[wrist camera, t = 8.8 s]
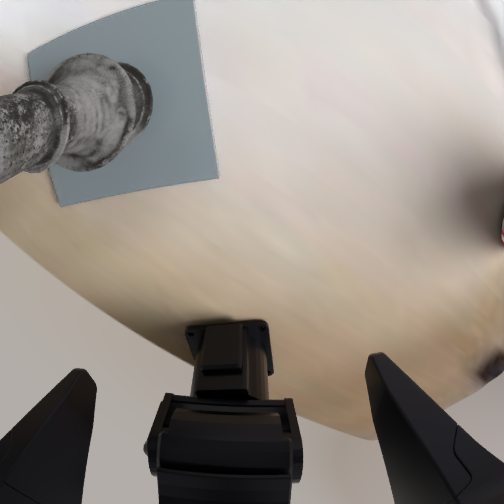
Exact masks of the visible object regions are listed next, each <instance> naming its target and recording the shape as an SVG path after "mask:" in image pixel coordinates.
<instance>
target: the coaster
mask: <svg viewBox="0 0 504 504" xmlns="http://www.w3.org/2000/svg"><path fill="white" fill-rule="evenodd" d="M85 53H93V54H101V55H104V56H106V57H108V58H110V59H112V60H114V61H116V62H122V63H127V64H130V65H132V66H133V67H135V68H137V69H138V70H139V71H140V72H141V73H142V74H143V75H144V76H145V77H146V79H147V81H148V83H149V85H150V86H151V91H152V95H153V110H152V114H151V117H150V121H149V123H148V125H147V126H146V128H145V130H144V132H143V133H142V134H141V135H140V136H139V137H138V138H137V139H136V140H135V141H134V142H132V143H130V144H129V145H127V146H126V147H124V149H123V150H122V151H121V152H120V153H119V154H118V155H117V156H116V158H115V159H113V160H112V161H110V162H109V163H107V164H106V165H104V166H103V167H101V168H98V169H95V170H92V171H83V172H76V171H72V170H69V169H65V168H63V167H61V166H60V165H58V164H57V163H55V164H53V165H52V166H51V167H50V168H49V171H50V174H51V178H52V181H53V185H54V188H55V191H56V195H57V198H58V201H59V204H60V207H64V206H68V205H72V204H77V203H81V202H86V201H90V200H95V199H100V198H105V197H110V196H115V195H120V194H125V193H130V192H136V191H141V190H147V189H152V188H158V187H164V186H170V185H177V184H183V183H190V182H196V181H203V180H211V179H218V178H219V177H220V173H219V167H218V160H217V154H216V148H215V141H214V135H213V128H212V122H211V115H210V108H209V101H208V95H207V88H206V81H205V74H204V67H203V60H202V53H201V45H200V38H199V31H198V23H197V15H196V8H195V0H159V1H155V2H152V3H148V4H145V5H141V6H138V7H135V8H131V9H128V10H125V11H122V12H119V13H116V14H114V15H111V16H108V17H105V18H103V19H100V20H97V21H95V22H92V23H90V24H88V25H85V26H83V27H80V28H78V29H76V30H74V31H71V32H69V33H67V34H65V35H63V36H61V37H59V38H57V39H55V40H53V41H51V42H49V43H47V44H45V45H43V46H41V47H39V48H37V49H35V50H34V51H32V52H30V53H28V64H29V72H30V80H31V81H33V80H44V81H45V79H46V78H47V76H48V75H49V74H50V72H51V71H52V70H53V69H54V68H55V67H57V66H58V65H59V64H60V63H61V62H63V61H64V60H66V59H68V58H70V57H72V56H75V55H79V54H85Z"/></svg>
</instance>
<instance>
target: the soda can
mask: <svg viewBox="0 0 504 504" xmlns="http://www.w3.org/2000/svg"><path fill="white" fill-rule="evenodd" d="M502 242H503V245H504V219H503V224H502Z"/></svg>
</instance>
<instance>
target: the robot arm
mask: <svg viewBox="0 0 504 504" xmlns="http://www.w3.org/2000/svg"><path fill="white" fill-rule="evenodd" d="M260 327H264V328H260ZM190 332H193V333H190ZM185 336H186V339H187V341H188V344H189V347H190V350H191V352H192V355H193V357H194V360H195V367H194V373H193V380H192V386H191V394H190V396H180V395H174V394H172V393H165V396H164V399H163V401H161V403H160V406H159V408H158V411H157V414H156V417H155V420H154V422H153V425H152V428H151V431H150V433H149V436H148V439H147V441H146V442H145V444H144V452H145V454H146V455H147V456H148V462H149V468H150V472H151V474H152V475H153V476H156V477H157V480H158V494H159V504H290V499H291V487H292V483H299V482H300V480H301V476H302V470H303V447H302V439H301V434H300V430H299V426H298V421H297V417H296V412H295V408H294V404H293V399H292V398H284V400H269V392H268V376H270V375H272V374H273V373H274V370H273V360H272V352H271V343H270V334H269V326H268V323H267V322H265V321H255V322H243V323H231V324H217V325H202V326H189V327H187V328H186V330H185ZM365 378H366V384H367V389H368V395H369V401H370V406H371V413H372V418H373V423H374V426H375V430H376V433H377V437H378V440H379V444H380V448H381V451H382V455H383V459H384V462H385V466H386V470H387V474H388V477H389V482H390V485H391V490H392V494H393V498H394V502H395V504H504V463H503V462H502V461H501V460H499V459H498V458H496V457H495V456H494V455H493V454H491V453H490V452H489V451H487V450H486V449H485V448H484V447H482V446H481V445H480V444H479V443H478V442H476V441H475V440H474V439H473V438H472V437H471V436H470V435H469V434H468V433H467V432H466V431H464V429H463V428H461V427H460V426H459V425H457V423H456V422H455V421H454V420H453V419H452V418H451V417H450V416H449V415H448V414H447V413H446V412H445V411H444V410H443V409H442V408H441V407H440V406H439V405H438V404H437V403H436V402H435V401H434V400H433V399H432V398H430V397H429V396H428V395H427V394H426V393H425V392H424V391H423V390H422V389H421V388H420V387H419V386H418V385H417V384H416V383H415V382H414V381H413V380H412V379H411V378H410V377H409V376H408V375H407V374H405V373H404V372H403V371H402V370H401V369H400V368H399V367H398V366H397V365H396V364H395V363H394V362H393V361H392V360H391V359H390V358H389V357H388V356H387V355H385V354H384V353H383V352H378V353H373V354H370V355H369V357H368V361H367V365H366V370H365ZM96 393H97V387H96V383H95V382H94V380H93V379H92V377H91V376H90V375H89V373H88V372H87V371H86V370H85V369H80V368H76V369H73V370H72V371H71V372H70V373H69V374H68V375H67V376H66V377H65V378H64V379H63V380H61V381H60V383H58V384H57V385H56V386H55V387H54V388H53V389H52V390H51V391H50V392H49V393H48V394H47V395H46V396H45V397H44V398H43V399H42V400H41V401H40V402H39V403H38V404H37V405H36V406H34V407H33V408H32V409H31V410H30V411H29V412H28V413H27V414H26V415H25V416H24V417H23V418H22V419H21V420H20V421H19V422H18V423H17V424H16V425H15V426H14V427H13V428H12V430H10V431H9V432H8V433H7V434H6V435H5V436H4V437H3V438H2V439H1V440H0V504H81V503H82V494H83V486H84V478H85V471H86V465H87V458H88V452H89V446H90V441H91V435H92V429H93V422H94V410H95V402H96Z"/></svg>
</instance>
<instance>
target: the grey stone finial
mask: <svg viewBox="0 0 504 504" xmlns="http://www.w3.org/2000/svg"><path fill="white" fill-rule="evenodd" d="M152 110H153V95H152V91H151V86H150V85H149V83H148V81H147V79H146V77H145V76H144V75H143V74H142V73H141V72H140V71H139V70H138V69H137V68H135V67H133V66H132V65H130V64H127V63H122V62H116V61H114V60H112V59H110V58H108V57H106V56H104V55H101V54H93V53H85V54H79V55H75V56H72V57H70V58H68V59H66V60H64V61H63V62H61V63H60V64H59V65H58V66H57V67H55V68H54V69H53V70H52V71H51V72H50V74H49V75H48V76H47V78H46V79H45V81H44V80H33V81H29V82H26V83H24V84H23V85H21V86H19V87H18V88H17V89H16V90H15V91H14V92H13V93H12V94H9V95H4V96H0V184H1V183H3V182H4V181H6V180H8V179H9V178H11V177H13V176H15V175H17V174H18V173H20V172H22V171H25V172H28V173H39V172H42V171H44V170H46V169H49V168H50V167H51V166H52V165H53V164H55V163H57V164H58V165H60V166H61V167H63V168H65V169H69V170H72V171H76V172H83V171H92V170H95V169H98V168H101V167H103V166H104V165H106V164H107V163H109V162H110V161H112V160H113V159H115V158H116V156H117V155H118V154H119V153H120V152H121V151H122V150H123V149H124V147H126V146H127V145H129V144H130V143H132V142H134V141H135V140H136V139H137V138H138V137H139V136H140V135H141V134H142V133H143V132H144V130H145V128H146V126H147V125H148V123H149V121H150V117H151V114H152Z"/></svg>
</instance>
